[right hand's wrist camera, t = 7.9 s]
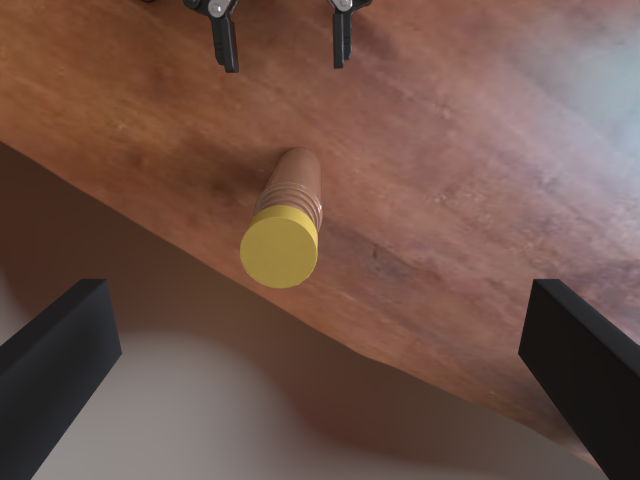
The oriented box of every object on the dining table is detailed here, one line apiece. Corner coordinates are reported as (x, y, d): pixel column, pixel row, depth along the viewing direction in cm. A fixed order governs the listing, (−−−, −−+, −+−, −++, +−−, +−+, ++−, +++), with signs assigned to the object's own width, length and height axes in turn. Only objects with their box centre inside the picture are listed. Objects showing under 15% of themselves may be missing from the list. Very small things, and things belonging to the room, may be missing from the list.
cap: (330, 249, 24) (331, 265, 22) (272, 282, 25) (268, 300, 23) (292, 191, 23) (289, 202, 21) (232, 227, 23) (223, 242, 21)
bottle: (330, 177, 43) (338, 264, 22) (293, 200, 44) (267, 303, 23) (306, 138, 41) (291, 193, 21) (268, 162, 42) (218, 237, 22)
